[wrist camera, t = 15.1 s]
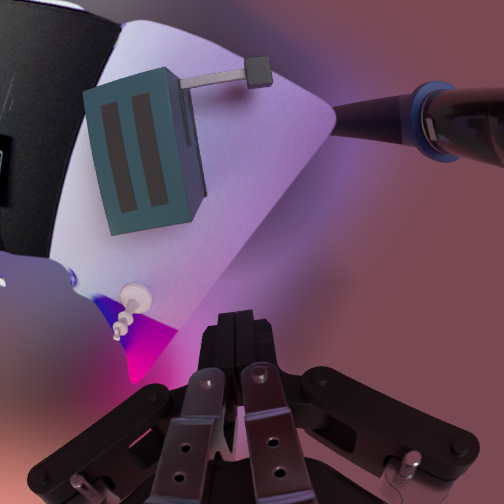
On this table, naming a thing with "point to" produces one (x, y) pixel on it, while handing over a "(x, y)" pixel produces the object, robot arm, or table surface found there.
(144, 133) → the toaster
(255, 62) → the slider
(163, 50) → the table surface
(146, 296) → the chess piece
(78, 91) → the table surface
